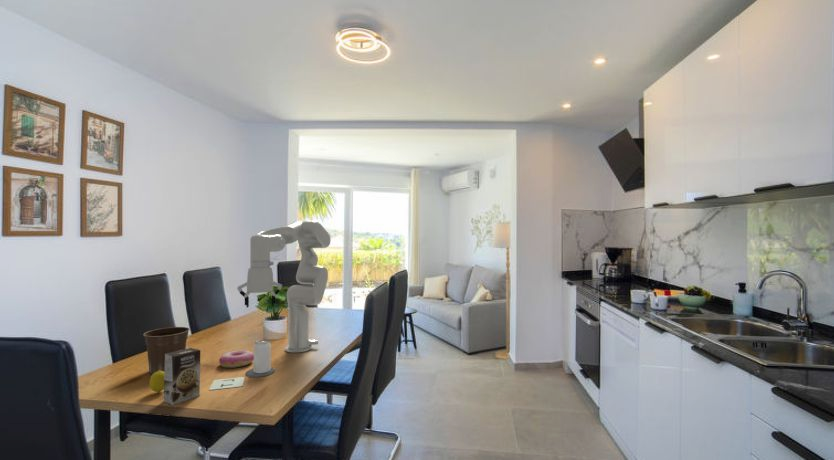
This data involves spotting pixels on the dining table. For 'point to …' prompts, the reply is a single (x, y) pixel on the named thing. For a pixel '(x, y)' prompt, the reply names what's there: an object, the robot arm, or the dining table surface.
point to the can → (262, 356)
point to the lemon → (157, 381)
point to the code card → (227, 383)
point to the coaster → (253, 374)
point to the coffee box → (182, 375)
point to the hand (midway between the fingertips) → (260, 306)
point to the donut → (236, 359)
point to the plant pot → (164, 345)
